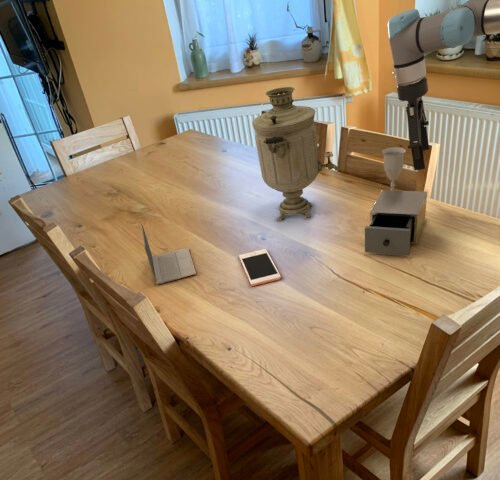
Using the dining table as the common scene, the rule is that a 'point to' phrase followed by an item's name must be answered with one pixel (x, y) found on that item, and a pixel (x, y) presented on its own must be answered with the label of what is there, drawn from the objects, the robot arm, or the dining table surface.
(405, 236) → the drawer
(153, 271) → the laptop
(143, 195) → the dining table surface
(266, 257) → the cell phone
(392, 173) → the chalice
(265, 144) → the samovar
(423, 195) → the cabinet
